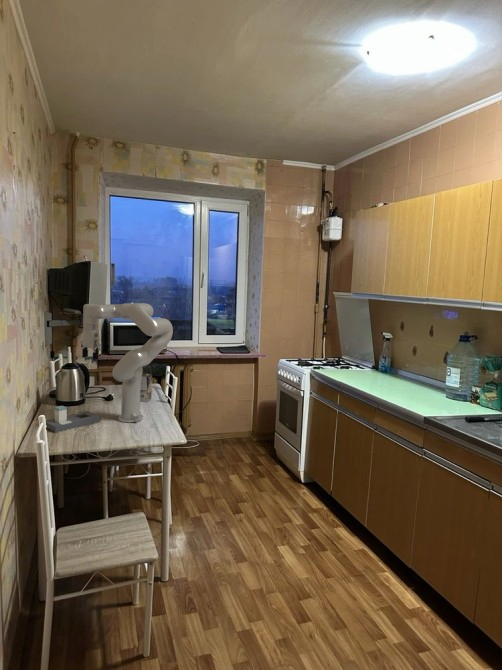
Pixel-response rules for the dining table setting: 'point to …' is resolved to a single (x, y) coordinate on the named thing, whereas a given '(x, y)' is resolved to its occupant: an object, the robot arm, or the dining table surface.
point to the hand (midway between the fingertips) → (90, 358)
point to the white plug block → (60, 414)
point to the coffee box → (146, 387)
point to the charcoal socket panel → (73, 421)
